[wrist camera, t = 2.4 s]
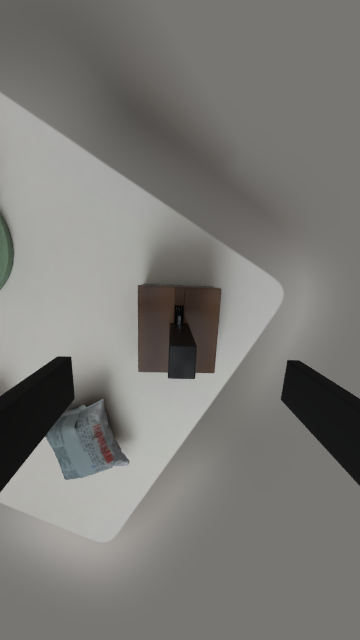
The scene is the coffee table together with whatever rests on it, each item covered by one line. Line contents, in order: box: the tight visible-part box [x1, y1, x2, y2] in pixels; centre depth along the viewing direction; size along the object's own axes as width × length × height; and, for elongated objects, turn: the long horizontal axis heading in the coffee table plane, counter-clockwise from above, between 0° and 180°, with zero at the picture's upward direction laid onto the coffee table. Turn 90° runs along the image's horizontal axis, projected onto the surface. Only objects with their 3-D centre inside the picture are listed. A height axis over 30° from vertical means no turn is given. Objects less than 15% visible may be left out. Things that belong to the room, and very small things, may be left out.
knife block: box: [138, 284, 221, 373], centre depth 24 cm, size 9×10×5 cm
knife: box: [168, 308, 197, 379], centre depth 20 cm, size 2×4×13 cm, turn 178°
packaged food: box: [45, 398, 129, 480], centre depth 27 cm, size 9×12×5 cm
